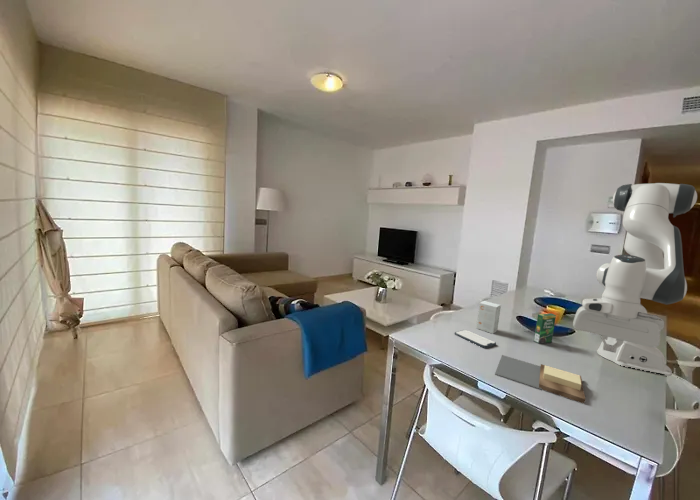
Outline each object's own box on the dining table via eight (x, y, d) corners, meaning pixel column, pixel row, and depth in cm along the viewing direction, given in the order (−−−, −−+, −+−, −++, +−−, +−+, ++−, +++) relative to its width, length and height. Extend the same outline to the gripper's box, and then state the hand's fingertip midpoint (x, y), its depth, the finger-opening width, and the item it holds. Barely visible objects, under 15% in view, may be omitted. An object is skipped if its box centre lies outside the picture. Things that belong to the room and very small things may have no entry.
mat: (543, 368, 113) (543, 367, 113) (542, 390, 98) (542, 389, 98) (501, 355, 121) (502, 354, 121) (494, 374, 106) (495, 373, 106)
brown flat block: (580, 379, 107) (581, 375, 107) (584, 403, 93) (585, 399, 92) (540, 367, 113) (540, 364, 113) (538, 388, 99) (539, 384, 99)
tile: (578, 380, 103) (579, 375, 103) (580, 390, 97) (581, 384, 97) (543, 370, 108) (544, 365, 108) (543, 378, 103) (544, 373, 102)
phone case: (452, 335, 139) (484, 350, 126) (453, 332, 139) (484, 346, 125) (465, 332, 144) (497, 346, 130) (465, 329, 144) (497, 342, 130)
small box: (497, 330, 147) (501, 304, 145) (493, 334, 143) (497, 307, 141) (480, 325, 153) (484, 300, 151) (475, 328, 148) (479, 302, 146)
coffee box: (538, 344, 135) (543, 315, 133) (532, 341, 138) (537, 313, 136) (552, 343, 138) (557, 315, 136) (546, 340, 140) (551, 313, 139)
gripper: (662, 314, 90) (651, 358, 92) (577, 298, 101) (569, 337, 103) (669, 320, 85) (657, 366, 87) (578, 302, 96) (570, 343, 98)
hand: (609, 350), depth 95 cm, fingers closed
